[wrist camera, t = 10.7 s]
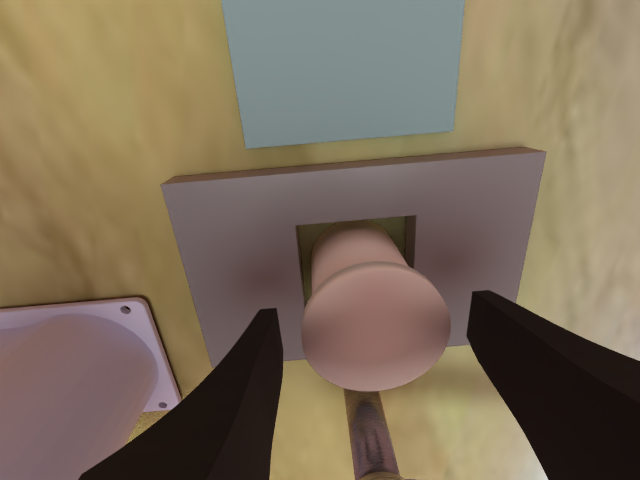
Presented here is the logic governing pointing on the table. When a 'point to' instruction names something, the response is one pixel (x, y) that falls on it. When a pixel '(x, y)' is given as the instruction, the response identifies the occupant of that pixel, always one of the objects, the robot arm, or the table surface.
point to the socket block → (348, 205)
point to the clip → (383, 476)
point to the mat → (343, 68)
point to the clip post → (369, 434)
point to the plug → (370, 311)
